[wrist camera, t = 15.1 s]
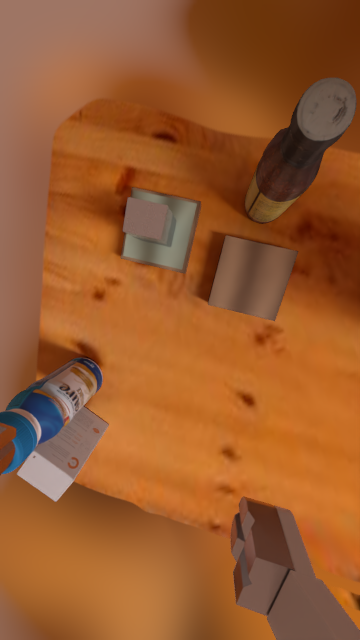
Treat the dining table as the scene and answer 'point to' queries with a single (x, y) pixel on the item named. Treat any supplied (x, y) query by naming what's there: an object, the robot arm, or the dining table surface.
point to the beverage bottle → (49, 405)
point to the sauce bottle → (300, 148)
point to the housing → (149, 222)
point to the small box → (63, 454)
